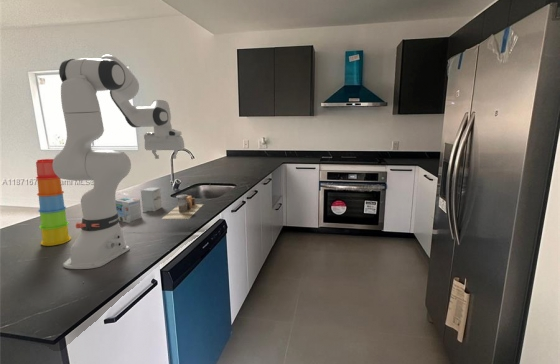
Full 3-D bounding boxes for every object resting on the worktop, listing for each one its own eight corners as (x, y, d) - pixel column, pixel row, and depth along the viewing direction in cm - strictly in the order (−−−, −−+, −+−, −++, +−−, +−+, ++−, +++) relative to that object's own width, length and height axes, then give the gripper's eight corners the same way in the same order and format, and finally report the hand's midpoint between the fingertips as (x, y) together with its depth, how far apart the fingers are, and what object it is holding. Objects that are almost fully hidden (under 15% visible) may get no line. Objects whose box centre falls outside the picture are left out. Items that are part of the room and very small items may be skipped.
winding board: (188, 221, 149) (187, 202, 147) (161, 221, 149) (159, 202, 147) (203, 206, 174) (202, 189, 172) (180, 206, 175) (178, 189, 173)
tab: (189, 208, 166) (188, 197, 165) (184, 208, 166) (183, 198, 165) (192, 205, 171) (191, 195, 170) (187, 205, 171) (186, 195, 170)
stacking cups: (53, 237, 131) (38, 158, 124) (76, 236, 131) (63, 158, 124) (34, 246, 121) (17, 162, 114) (59, 246, 121) (44, 161, 114)
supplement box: (154, 213, 162) (152, 190, 159) (142, 212, 164) (140, 190, 161) (162, 209, 169) (160, 187, 167) (150, 208, 171) (148, 187, 168)
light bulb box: (116, 220, 152) (114, 200, 149) (128, 216, 157) (126, 196, 155) (130, 223, 147) (128, 202, 144) (142, 219, 152) (140, 199, 150)
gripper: (140, 132, 154) (143, 159, 157) (180, 132, 153) (182, 159, 156) (146, 132, 160) (149, 158, 163) (184, 131, 160) (186, 157, 163)
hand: (165, 158), depth 160 cm, fingers open, 8 cm apart
